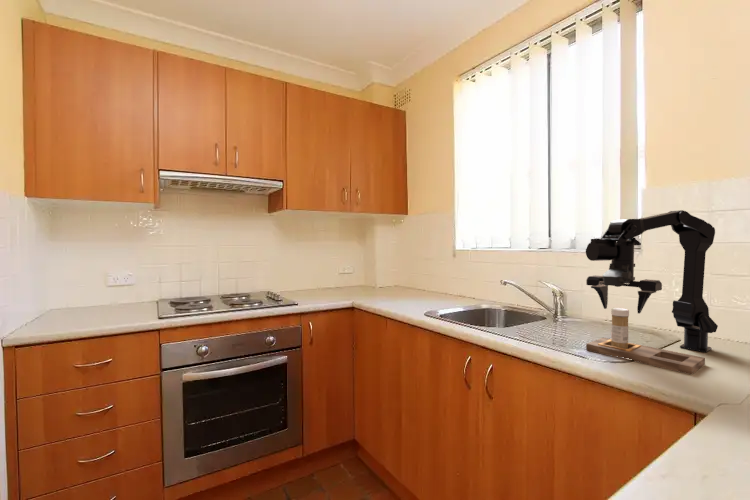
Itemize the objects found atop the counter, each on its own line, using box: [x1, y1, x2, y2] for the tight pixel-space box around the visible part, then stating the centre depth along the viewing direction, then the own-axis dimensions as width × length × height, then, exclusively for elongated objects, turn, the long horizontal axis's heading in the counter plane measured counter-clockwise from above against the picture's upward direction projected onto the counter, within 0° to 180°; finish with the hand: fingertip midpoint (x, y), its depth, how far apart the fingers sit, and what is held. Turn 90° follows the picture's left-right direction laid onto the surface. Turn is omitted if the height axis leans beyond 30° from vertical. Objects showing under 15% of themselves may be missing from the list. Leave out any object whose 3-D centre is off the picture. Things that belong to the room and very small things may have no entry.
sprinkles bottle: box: [610, 307, 630, 349], centre depth 115 cm, size 5×5×14 cm
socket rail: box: [585, 337, 706, 375], centre depth 110 cm, size 12×26×2 cm, turn 36°
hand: (621, 310), depth 114 cm, fingers open, 9 cm apart
